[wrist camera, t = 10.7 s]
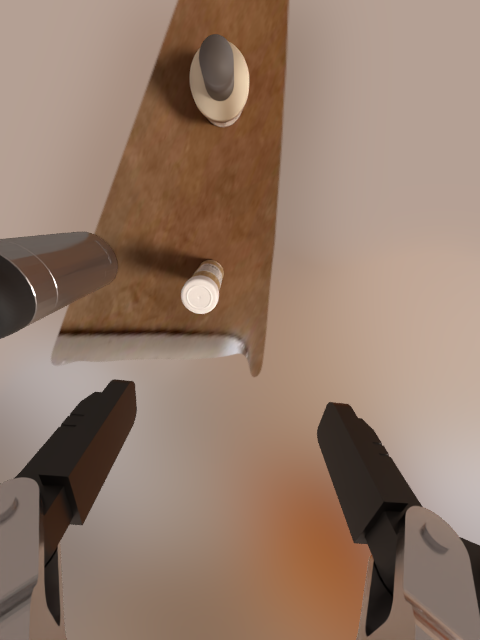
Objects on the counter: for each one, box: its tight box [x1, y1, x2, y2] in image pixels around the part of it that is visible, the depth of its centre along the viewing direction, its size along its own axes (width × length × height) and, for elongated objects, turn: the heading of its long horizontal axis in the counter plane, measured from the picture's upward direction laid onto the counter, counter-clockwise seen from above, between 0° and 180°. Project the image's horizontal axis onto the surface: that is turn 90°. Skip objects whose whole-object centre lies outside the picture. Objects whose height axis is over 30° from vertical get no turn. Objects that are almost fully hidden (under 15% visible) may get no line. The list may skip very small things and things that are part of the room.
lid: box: [190, 34, 249, 123], centre depth 24 cm, size 7×7×5 cm
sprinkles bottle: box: [181, 260, 224, 314], centre depth 33 cm, size 5×5×14 cm
